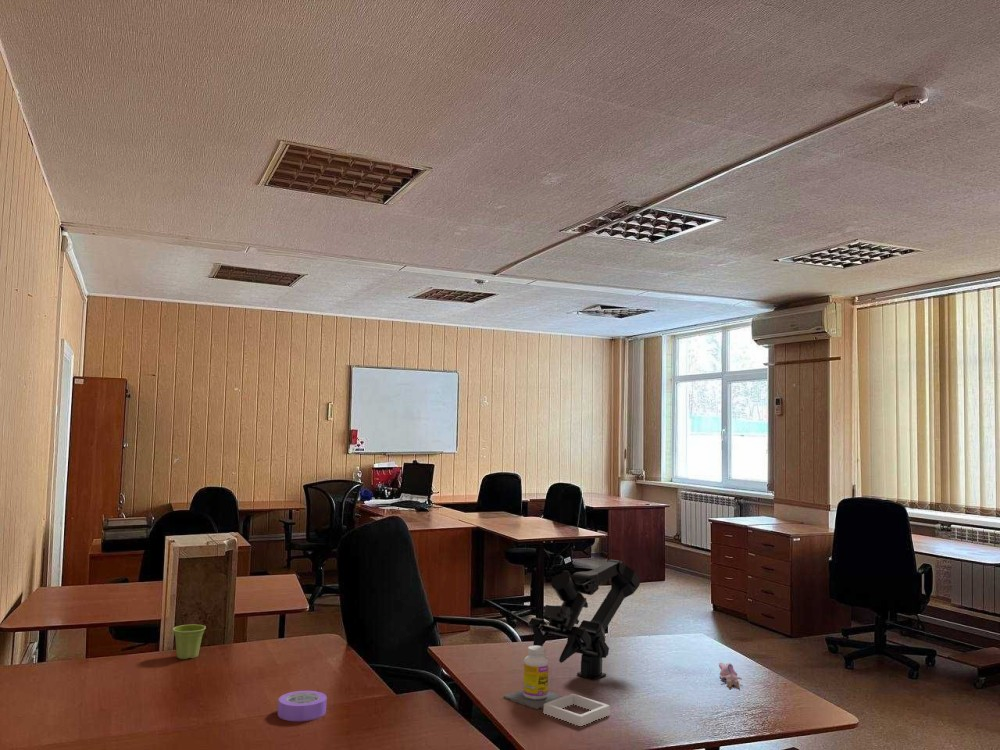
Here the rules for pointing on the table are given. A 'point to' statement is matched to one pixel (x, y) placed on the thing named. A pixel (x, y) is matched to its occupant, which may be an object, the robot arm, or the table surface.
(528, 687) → the supplement bottle
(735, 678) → the pink plastic figurine
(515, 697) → the mat
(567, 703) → the holder
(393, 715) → the table surface
